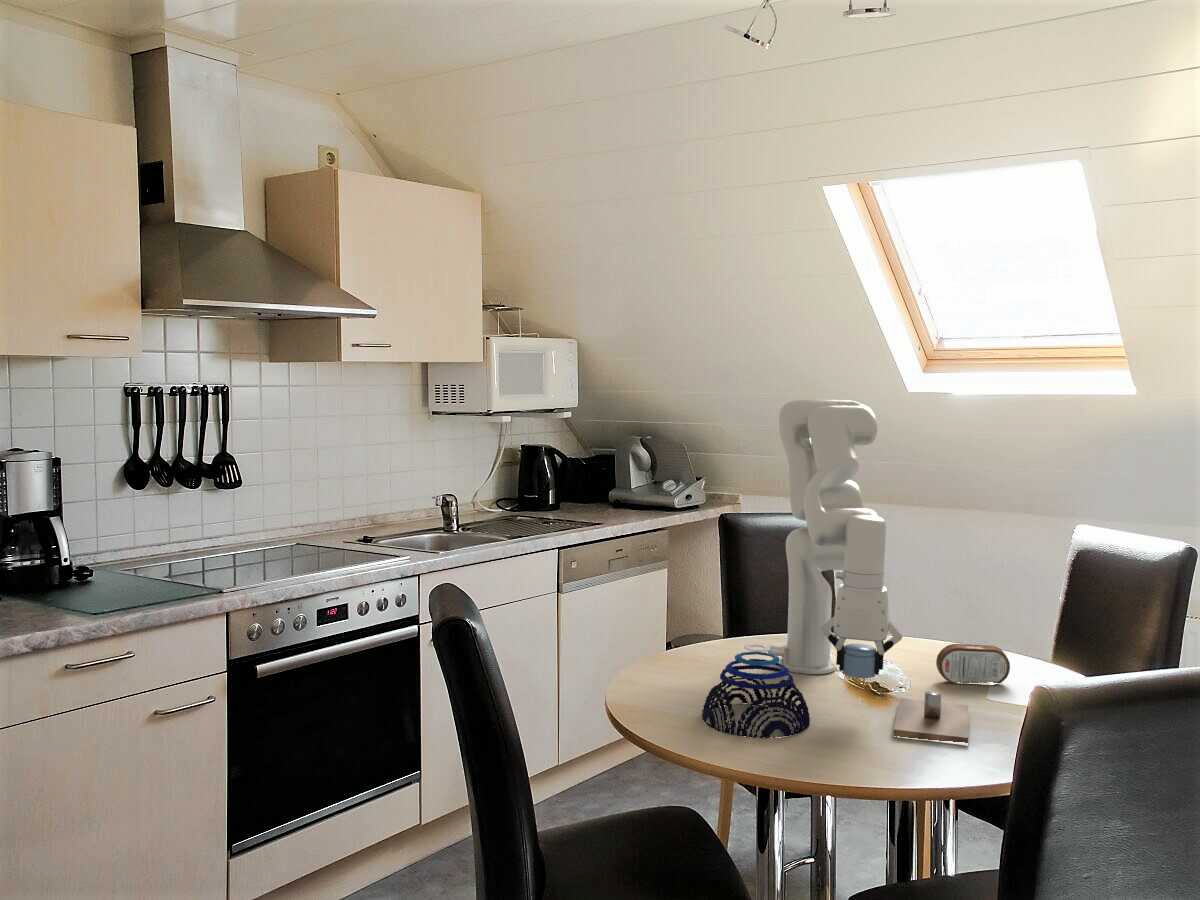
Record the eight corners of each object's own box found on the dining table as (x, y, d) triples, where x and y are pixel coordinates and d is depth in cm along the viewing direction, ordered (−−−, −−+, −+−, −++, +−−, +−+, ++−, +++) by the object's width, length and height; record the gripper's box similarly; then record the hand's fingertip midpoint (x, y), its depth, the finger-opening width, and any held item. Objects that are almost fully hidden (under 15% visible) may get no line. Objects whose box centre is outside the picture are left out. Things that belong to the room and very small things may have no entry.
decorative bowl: (726, 743, 197) (727, 664, 196) (688, 708, 216) (689, 637, 215) (827, 734, 202) (829, 658, 201) (781, 701, 222) (783, 631, 221)
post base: (893, 737, 201) (893, 729, 201) (899, 705, 220) (899, 697, 220) (968, 746, 197) (968, 737, 197) (967, 712, 216) (968, 705, 216)
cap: (841, 675, 211) (842, 650, 210) (845, 666, 216) (846, 642, 216) (873, 679, 209) (875, 654, 208) (876, 670, 214) (877, 645, 214)
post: (923, 718, 207) (924, 695, 207) (924, 713, 210) (925, 690, 210) (940, 720, 206) (941, 696, 206) (940, 715, 209) (941, 692, 209)
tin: (1006, 683, 236) (1008, 645, 235) (1010, 687, 233) (1012, 648, 232) (935, 680, 238) (936, 642, 237) (938, 684, 234) (939, 646, 234)
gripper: (815, 580, 210) (811, 671, 212) (909, 588, 204) (904, 682, 206) (820, 571, 217) (816, 660, 219) (911, 579, 211) (906, 670, 213)
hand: (859, 669), depth 212 cm, fingers closed on cap, 6 cm apart
